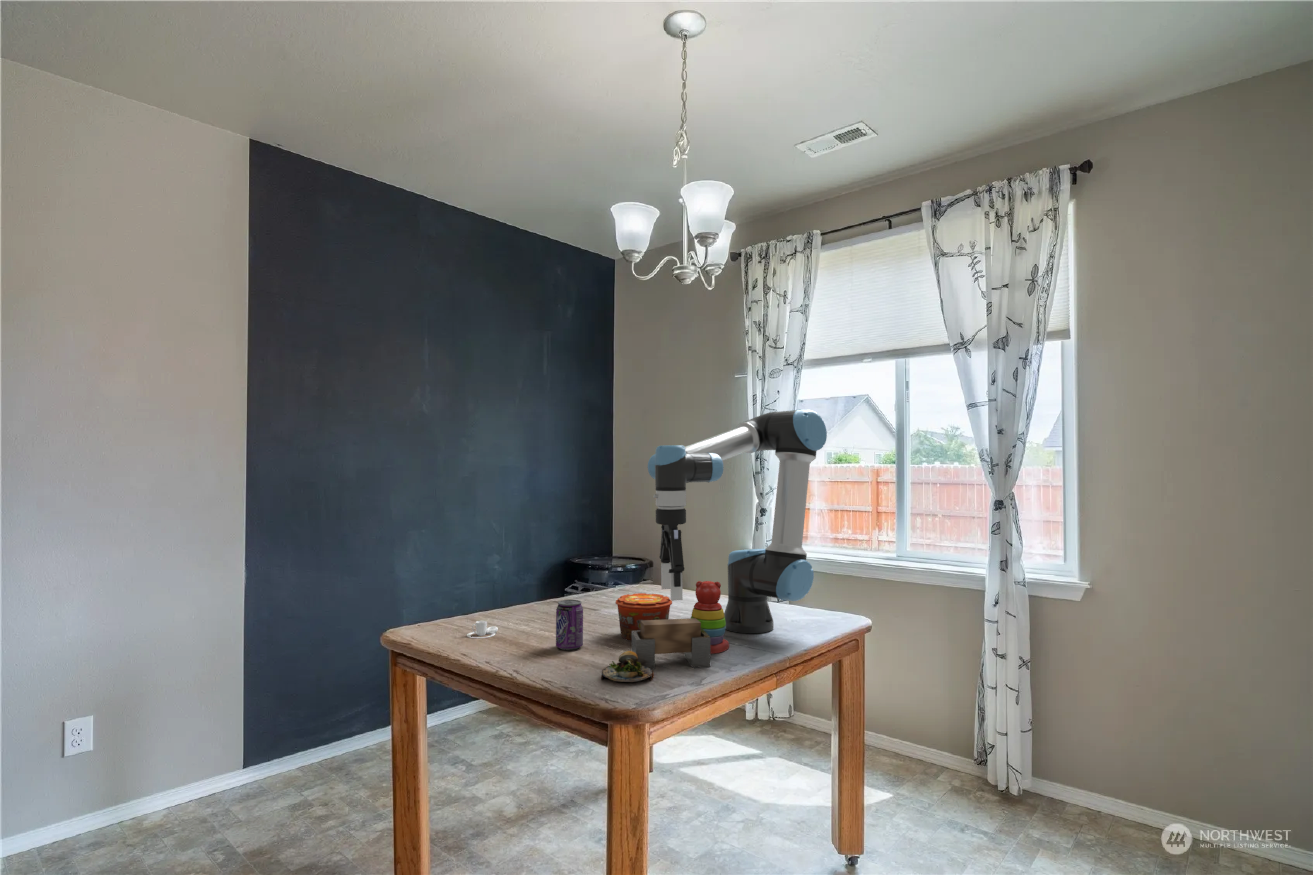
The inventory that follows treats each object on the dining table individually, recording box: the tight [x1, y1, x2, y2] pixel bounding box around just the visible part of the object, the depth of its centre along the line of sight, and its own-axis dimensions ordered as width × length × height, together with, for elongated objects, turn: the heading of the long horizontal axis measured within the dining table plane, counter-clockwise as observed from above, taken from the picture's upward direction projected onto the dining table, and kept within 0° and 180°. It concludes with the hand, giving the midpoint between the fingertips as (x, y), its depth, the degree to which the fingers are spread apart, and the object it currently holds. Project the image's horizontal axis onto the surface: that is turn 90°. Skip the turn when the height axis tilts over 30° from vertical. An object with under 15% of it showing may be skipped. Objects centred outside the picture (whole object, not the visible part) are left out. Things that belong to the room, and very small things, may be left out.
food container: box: [615, 592, 673, 642], centre depth 194 cm, size 16×16×11 cm
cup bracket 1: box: [631, 630, 656, 670], centre depth 168 cm, size 4×9×7 cm, turn 9°
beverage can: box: [555, 599, 584, 651], centre depth 182 cm, size 7×7×12 cm
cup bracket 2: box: [684, 628, 711, 669], centre depth 170 cm, size 4×9×7 cm, turn 9°
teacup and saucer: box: [466, 620, 499, 639], centre depth 195 cm, size 9×8×4 cm
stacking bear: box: [690, 580, 730, 655], centre depth 182 cm, size 11×10×18 cm
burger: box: [600, 650, 655, 683], centre depth 157 cm, size 12×12×8 cm
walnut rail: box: [641, 617, 701, 655], centre depth 169 cm, size 14×5×7 cm, turn 102°
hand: (671, 594), depth 170 cm, fingers open, 13 cm apart
